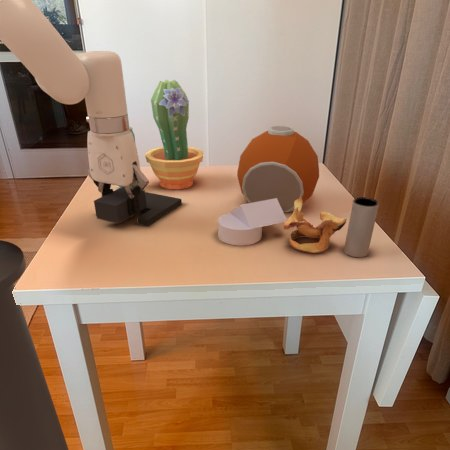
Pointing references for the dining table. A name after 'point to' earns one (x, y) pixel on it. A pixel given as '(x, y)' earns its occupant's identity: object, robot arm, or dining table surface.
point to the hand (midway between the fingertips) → (122, 210)
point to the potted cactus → (173, 138)
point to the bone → (312, 229)
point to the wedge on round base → (249, 222)
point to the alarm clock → (278, 168)
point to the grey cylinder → (361, 226)
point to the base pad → (157, 208)
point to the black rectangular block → (116, 205)
